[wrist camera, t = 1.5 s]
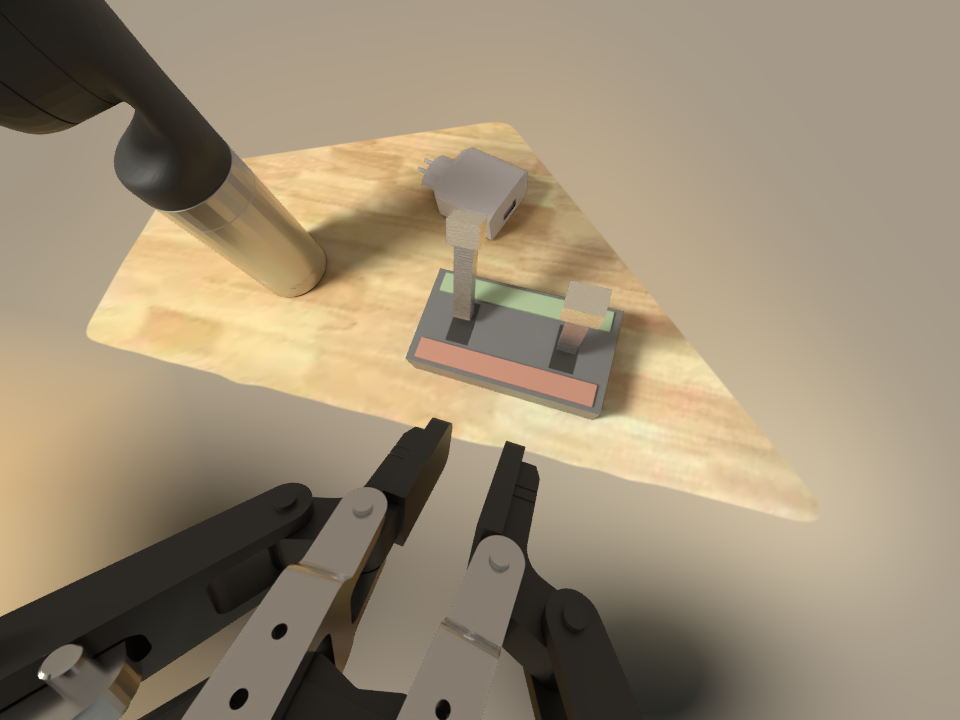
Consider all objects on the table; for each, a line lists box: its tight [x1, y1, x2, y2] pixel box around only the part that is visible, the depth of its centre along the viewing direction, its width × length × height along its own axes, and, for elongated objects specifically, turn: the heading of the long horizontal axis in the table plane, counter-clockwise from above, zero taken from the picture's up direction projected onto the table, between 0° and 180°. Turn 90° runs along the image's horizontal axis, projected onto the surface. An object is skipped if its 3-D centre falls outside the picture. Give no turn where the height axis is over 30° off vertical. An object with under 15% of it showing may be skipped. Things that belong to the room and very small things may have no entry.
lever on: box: [446, 209, 488, 321], centre depth 36 cm, size 2×3×11 cm
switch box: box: [406, 268, 624, 420], centre depth 41 cm, size 12×22×4 cm, turn 72°
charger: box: [417, 148, 528, 240], centre depth 48 cm, size 5×9×15 cm
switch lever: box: [557, 280, 612, 354], centre depth 32 cm, size 2×3×11 cm
